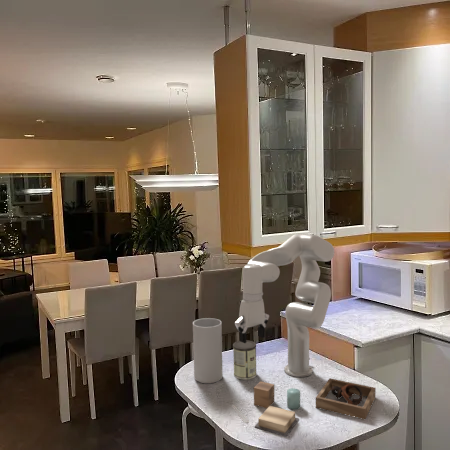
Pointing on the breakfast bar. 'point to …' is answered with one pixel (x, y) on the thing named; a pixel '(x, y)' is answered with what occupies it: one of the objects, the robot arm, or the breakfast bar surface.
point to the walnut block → (264, 394)
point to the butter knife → (241, 415)
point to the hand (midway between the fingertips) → (252, 339)
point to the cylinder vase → (207, 350)
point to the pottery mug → (347, 393)
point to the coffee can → (244, 359)
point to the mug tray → (341, 406)
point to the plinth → (277, 420)
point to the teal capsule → (293, 399)
